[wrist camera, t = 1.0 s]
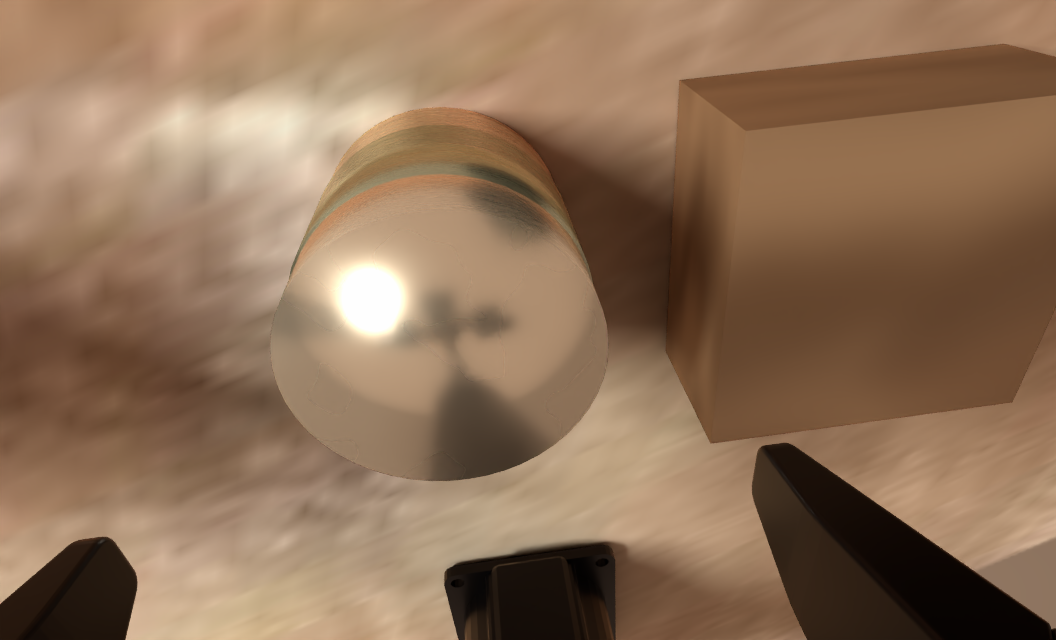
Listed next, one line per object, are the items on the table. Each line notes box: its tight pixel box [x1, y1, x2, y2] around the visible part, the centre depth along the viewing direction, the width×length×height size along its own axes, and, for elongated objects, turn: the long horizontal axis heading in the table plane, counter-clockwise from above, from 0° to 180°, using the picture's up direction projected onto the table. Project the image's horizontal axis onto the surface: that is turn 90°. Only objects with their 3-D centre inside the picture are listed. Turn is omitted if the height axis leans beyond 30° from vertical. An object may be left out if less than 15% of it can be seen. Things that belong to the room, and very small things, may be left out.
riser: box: [666, 44, 1056, 443], centre depth 16 cm, size 8×8×4 cm
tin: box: [270, 107, 609, 481], centre depth 14 cm, size 6×6×6 cm
